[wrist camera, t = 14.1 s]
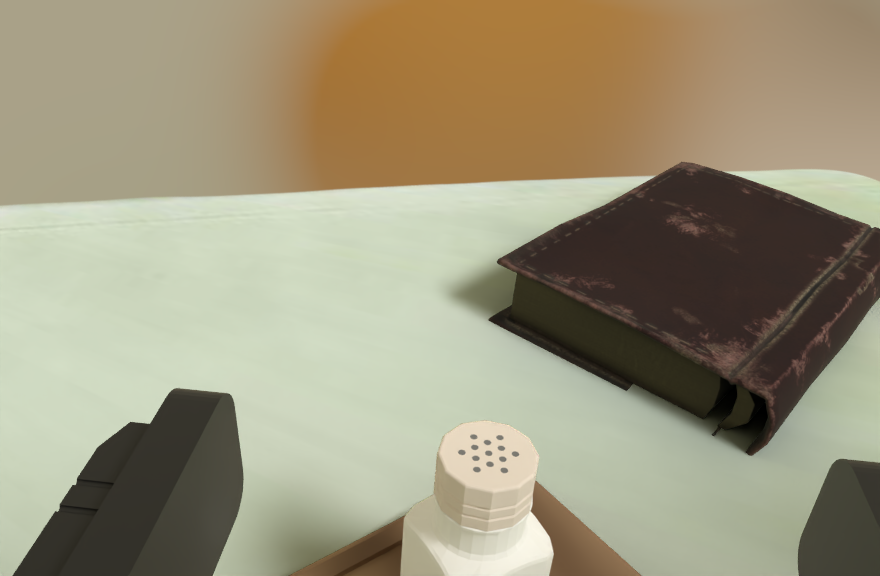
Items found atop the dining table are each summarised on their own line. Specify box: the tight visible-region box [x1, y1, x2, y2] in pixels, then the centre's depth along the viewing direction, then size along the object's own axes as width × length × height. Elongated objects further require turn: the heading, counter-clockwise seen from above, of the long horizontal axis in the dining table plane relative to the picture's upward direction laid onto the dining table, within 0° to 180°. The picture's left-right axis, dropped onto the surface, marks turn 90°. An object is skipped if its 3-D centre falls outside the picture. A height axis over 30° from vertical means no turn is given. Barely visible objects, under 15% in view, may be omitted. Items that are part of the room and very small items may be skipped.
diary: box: [489, 162, 880, 456], centre depth 54 cm, size 19×25×5 cm
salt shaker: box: [400, 420, 554, 576], centre depth 28 cm, size 4×4×10 cm
